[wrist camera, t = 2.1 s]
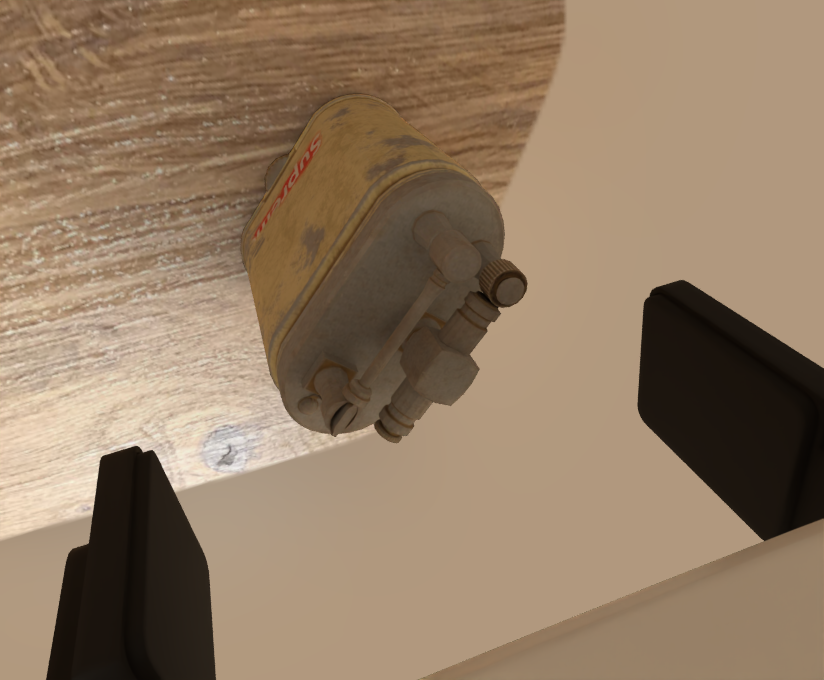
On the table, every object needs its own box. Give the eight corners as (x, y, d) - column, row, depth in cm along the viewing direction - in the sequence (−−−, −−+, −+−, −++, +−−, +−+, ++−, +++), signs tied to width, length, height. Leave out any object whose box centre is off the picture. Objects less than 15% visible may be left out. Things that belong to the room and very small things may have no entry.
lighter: (311, 308, 23) (387, 514, 15) (210, 260, 21) (235, 467, 13) (428, 132, 21) (590, 259, 13) (330, 61, 19) (448, 157, 11)
